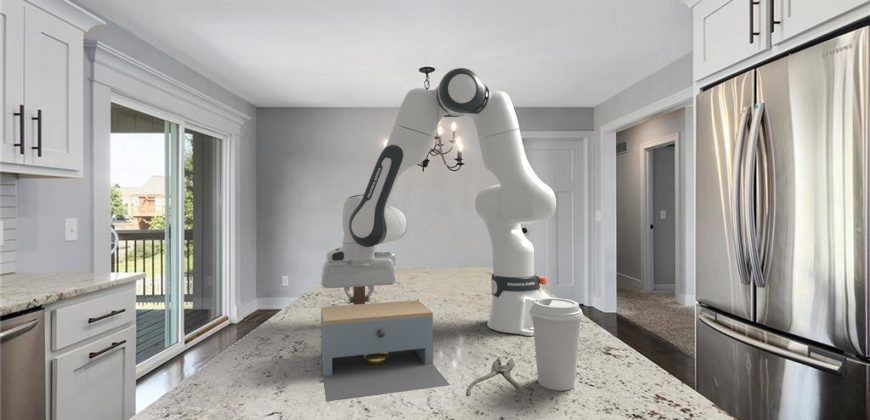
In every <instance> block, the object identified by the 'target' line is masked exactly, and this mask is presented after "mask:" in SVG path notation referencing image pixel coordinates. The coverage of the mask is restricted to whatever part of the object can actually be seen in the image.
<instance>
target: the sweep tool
mask: <svg viewBox="0 0 870 420" xmlns="http://www.w3.org/2000/svg"><path fill="white" fill-rule="evenodd" d="M365 295H366V286H362V287H352V296H353V297H354V303H352V305H357V304H366V302H365Z"/></svg>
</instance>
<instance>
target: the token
mask: <svg viewBox="0 0 870 420" xmlns="http://www.w3.org/2000/svg"><path fill="white" fill-rule="evenodd" d="M364 362H365V364H368V365H383V364H385V363H387V362H388V352H383V353H374V354H364Z"/></svg>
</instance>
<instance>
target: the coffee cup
mask: <svg viewBox="0 0 870 420" xmlns="http://www.w3.org/2000/svg"><path fill="white" fill-rule="evenodd" d="M530 314H531V315H532V318H533V329H534V335H533V336H534V337H533V338H534V350H535V362H536V372H537V373H536V374H537V375H536V376H537V383H538V385H540V386H541V387H543V388H545V389H548V390H550V391H556V392H557V391H558V392H562V391H564V392H565V391H569V390H570V391H571V390H572V389H574V387H575V382H576V371H577V363H578V362H577V361H578V360H577V359H578V347H579V337H580V329H581V319H582V318H584V312H583V311H582V309H581V308H580V304H579V302H577V301H574V300H572V299H569V298H568V299H567V298H559V297H552V298H541V299H537V300H535V301H534V304H533V306H532V307H531V309H530Z"/></svg>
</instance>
